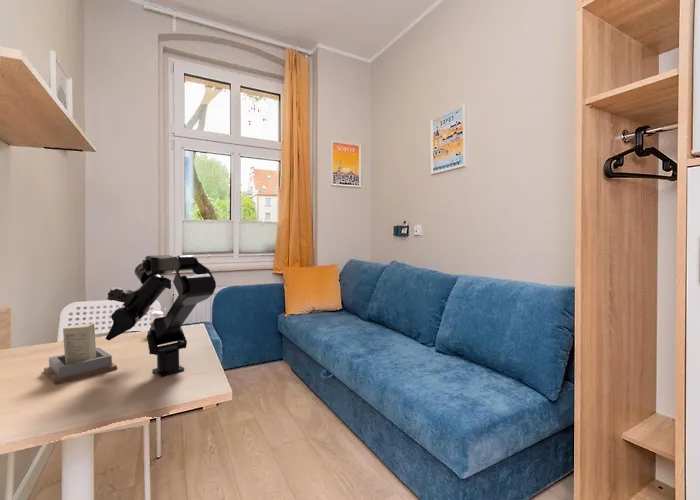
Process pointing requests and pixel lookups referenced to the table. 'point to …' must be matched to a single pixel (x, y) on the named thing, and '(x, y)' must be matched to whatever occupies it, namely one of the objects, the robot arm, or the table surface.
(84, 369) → the square frame
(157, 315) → the milkshake
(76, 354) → the skincare box
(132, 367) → the table surface
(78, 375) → the walnut board
